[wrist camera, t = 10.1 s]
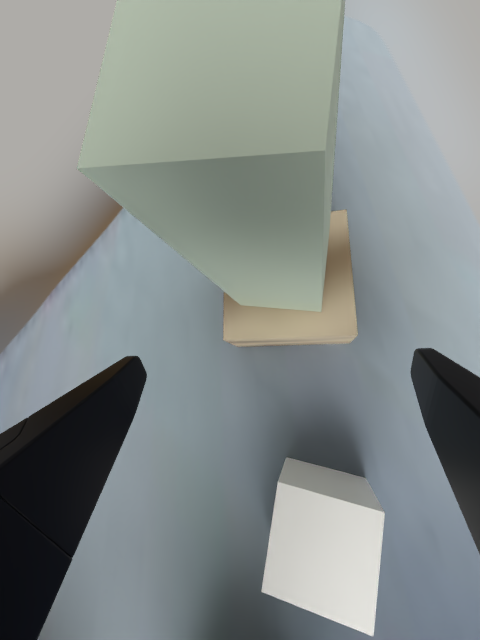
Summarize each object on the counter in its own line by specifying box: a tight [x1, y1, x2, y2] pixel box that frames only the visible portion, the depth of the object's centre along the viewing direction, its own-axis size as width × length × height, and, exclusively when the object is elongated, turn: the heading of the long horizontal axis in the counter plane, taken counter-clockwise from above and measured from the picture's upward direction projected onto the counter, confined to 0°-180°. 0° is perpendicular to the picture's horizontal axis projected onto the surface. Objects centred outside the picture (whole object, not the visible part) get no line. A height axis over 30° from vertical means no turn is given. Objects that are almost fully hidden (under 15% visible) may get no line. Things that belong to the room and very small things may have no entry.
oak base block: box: [223, 209, 358, 347], centre depth 20 cm, size 8×8×4 cm
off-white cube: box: [261, 457, 385, 636], centre depth 16 cm, size 5×5×5 cm
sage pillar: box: [77, 0, 345, 312], centre depth 12 cm, size 5×5×13 cm
